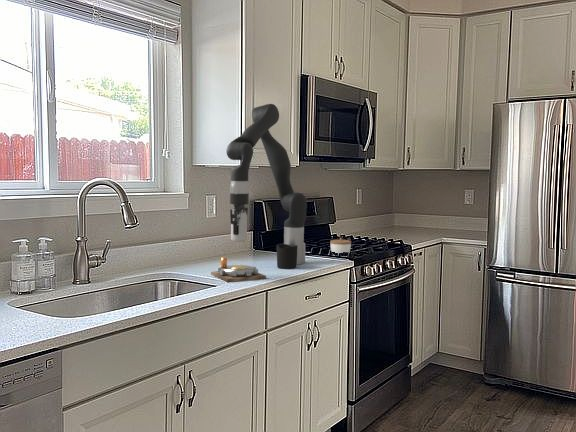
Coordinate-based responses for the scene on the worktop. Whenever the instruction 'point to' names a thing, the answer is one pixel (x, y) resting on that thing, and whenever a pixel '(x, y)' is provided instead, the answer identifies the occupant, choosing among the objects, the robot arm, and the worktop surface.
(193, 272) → the worktop surface
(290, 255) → the pen holder
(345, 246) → the lidded jar
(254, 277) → the board
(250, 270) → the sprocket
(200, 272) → the worktop surface
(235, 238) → the beverage can
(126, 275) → the worktop surface
